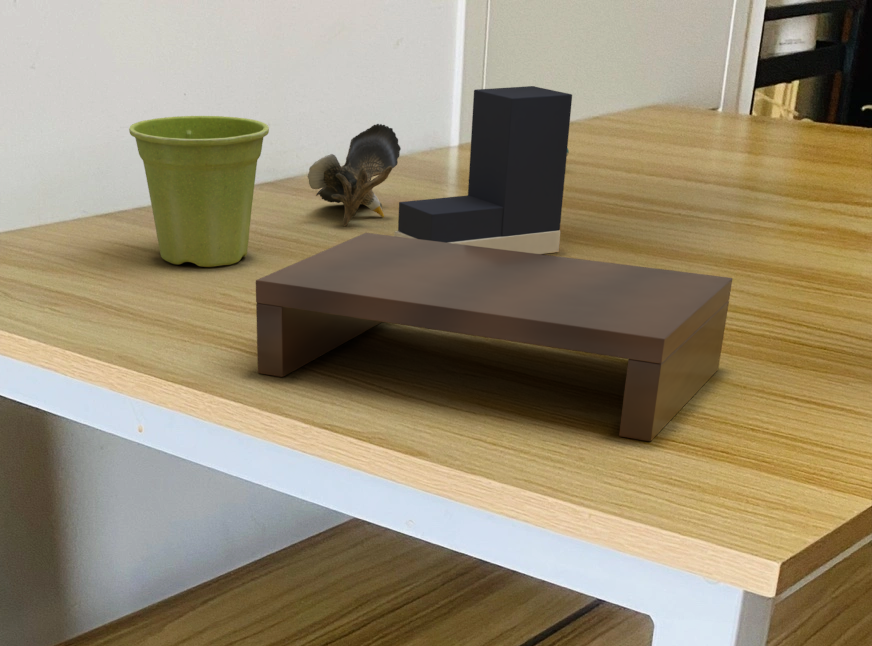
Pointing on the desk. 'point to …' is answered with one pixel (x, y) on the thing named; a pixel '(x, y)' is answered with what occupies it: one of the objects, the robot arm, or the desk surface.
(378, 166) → the eagle figurine
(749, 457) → the desk surface
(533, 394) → the desk surface
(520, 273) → the monitor riser stand
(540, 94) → the boot
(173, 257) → the plant pot
